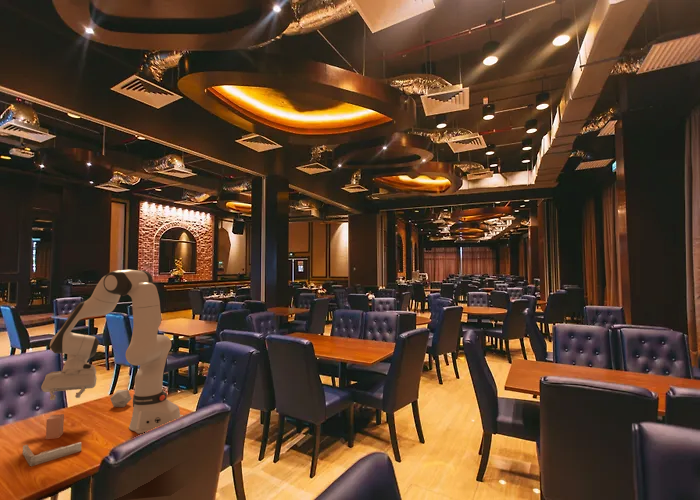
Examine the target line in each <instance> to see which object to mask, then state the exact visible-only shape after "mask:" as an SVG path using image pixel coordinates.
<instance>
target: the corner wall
mask: <svg viewBox="0 0 700 500" xmlns="http://www.w3.org/2000/svg"><path fill="white" fill-rule="evenodd" d="M79 452H82V442H81V441H79V442H75V443H72V444H69V445H66V446H63V445H62V446H61V445H60V446H59V447H55V448H51V449H48V450H45V451H42V452H39V453H38V454H36V455H35V454H34V453H33V452H32V450H31V448H30V446H29V445H28V444H25V445H22V455H23V457H24V459H25V460H26V462H27V464H28V466H29V467H30V466H31V467H33V466H36V465H40V464H44V463H46V462H50V461H54V460H56V459H60V458H63V457H66V456H69V455H73V454H76V453H79Z"/></svg>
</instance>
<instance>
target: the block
mask: <svg viewBox="0 0 700 500" xmlns="http://www.w3.org/2000/svg"><path fill="white" fill-rule="evenodd" d="M64 422H65V414H64V413H60V414H53V415H52V414H51V415H50V416H49V417H48V418H46V427H45V440H50V439H52V440H53V439H60V437H61V436H62V435H63V434H64V425H65V424H64Z"/></svg>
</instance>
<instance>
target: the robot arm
mask: <svg viewBox="0 0 700 500" xmlns="http://www.w3.org/2000/svg"><path fill="white" fill-rule="evenodd" d="M153 282H154V279H153V276H152V274H151V273H150V272H149V271H147V270H142V269H139V270H135V269H121V270H120V269H119V270H118V269H117V270H113V271H110V272H108V273H107V274H106V275H104V276H103V277H101V279H100V280H99V281H98V283H97V284H96V286H95V288H94V290H93V292H92V294H91V296H90V297H89V298H87V300H85V301H81V302H79V303H78V304H77V305H76V307H75V308H74V309H73V311H71V313H70V314H69V316H68V317H67V318H66V320H65V321H64V323H63V325H62V326H61V327H60V328H59V330H58V331H57V333H55V334H54V335H53V336H52V338H51V339H50V343H49V349H50V350H51V351H52V353H54V354H62V355H63V354H66V355H67V356H66V357H67V358H66V360H65V362H64V365H63V368H62V370H59V371H51V372H49V373H47V374H45V378H44V380H43V382H42V384H41V391H42V392H43V393H49V394H50V397H49V400H50V401H55V400H56V397H57V396H56V394H55V392H63V391H74V390H76V391H77V390H79V391H77V392H75V396H74V397H75V398H76V399H80V398H81V395H83V393H85V391H86V389H87V390H88V389H93V388H95V387H96V384H97V380H98V379H97V369H96V367H95V365H94V364H90V363H88V360H89V359H91V358H93V357H95V355H96V353H97V351H98V347H99V344H100V341H99V339H98V337H96V336H94V335H88V334H82V333H76V332H72V330H73V329H74V328H75V326H76V325H77V323H78V322H79V321H81V320H83V319H84V318H90V317H100V316H105V315H107V314H110V313H111V312H113V311H114V310H115V308H116V306H117V304H118V303H119V302H120V301H119V300H121V299H120V298H121V296H122V297H125V296H127V295H128V296H129V297H130V298H131V303H132V306H131V307H132V317H133V318H132V321H133V327H132V328H133V329H132V335H131V340H130V342H129V346H128V347H127V348H126V351H125V360H126V361H127V362H128V363H129V364H130V365H132V366H139V369H138V371H137V372H136V374H135V377H134V393H133V397H132V408H133V409H132V415H131V421H130V423H129V426H128V429H129V430H130V431H133V432H136V434H145V433H144V432H146V431H148V430H151V429H153V428H155V427H158V426H160V425H162V424H165V423H167V422H169V421H172V420H174V419H177V418H179V417H181V416H183V415H184V414H181V411H180V407H179V405H177V404H176V403H174V402H172V401H171V400H169V399H168V397H167V396H168V391H164V390H163V379H164V370H165V366H166V363H167V358H168V354H169V352H170V350H171V348H172V340H171V338H170V337H169V336H167V335H165V334H158V332H159V328H160V326H161V324H162V314H161V312H162V311H161V302H160V301H161V300H160V296H159V293H158V289H157V286H156V285H155V284H154V283H153Z"/></svg>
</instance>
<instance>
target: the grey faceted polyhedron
mask: <svg viewBox="0 0 700 500" xmlns="http://www.w3.org/2000/svg"><path fill="white" fill-rule="evenodd" d="M109 399H110V401H111V404H112V406H113V408H125V407H126V406H127V405H128V403H129V402H130V401H131V400H133V397H132V396H131V394H130V392H129V390H128V389H118V390H116V392H114V393H113V394H112V396H111V397H109Z"/></svg>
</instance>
